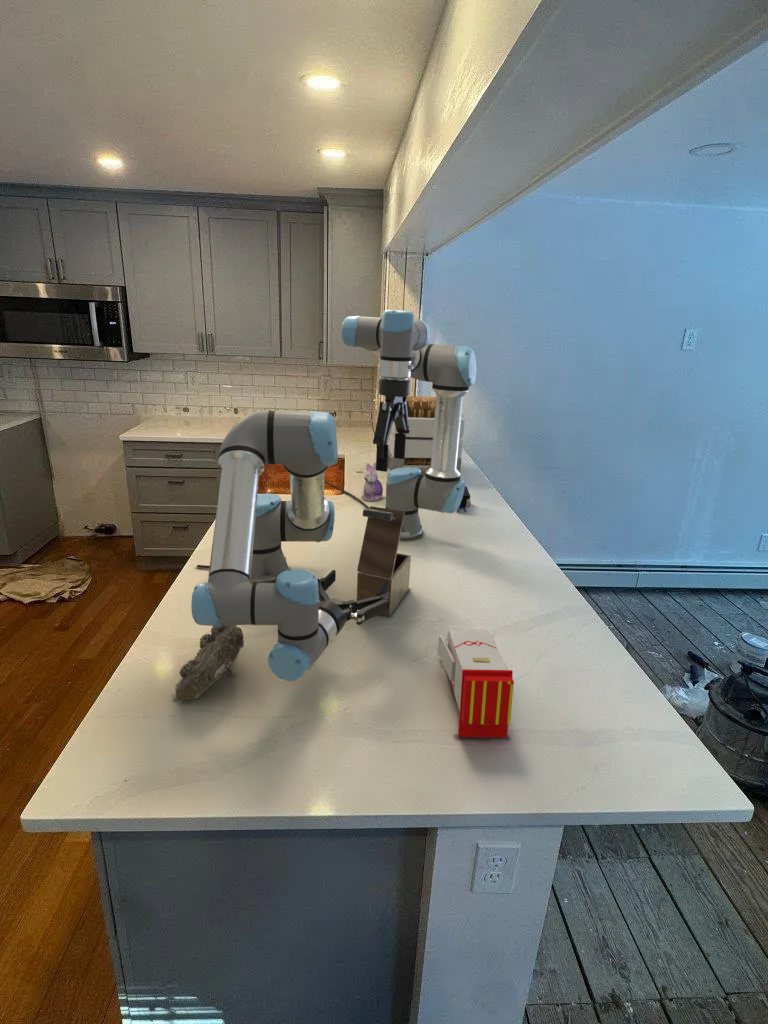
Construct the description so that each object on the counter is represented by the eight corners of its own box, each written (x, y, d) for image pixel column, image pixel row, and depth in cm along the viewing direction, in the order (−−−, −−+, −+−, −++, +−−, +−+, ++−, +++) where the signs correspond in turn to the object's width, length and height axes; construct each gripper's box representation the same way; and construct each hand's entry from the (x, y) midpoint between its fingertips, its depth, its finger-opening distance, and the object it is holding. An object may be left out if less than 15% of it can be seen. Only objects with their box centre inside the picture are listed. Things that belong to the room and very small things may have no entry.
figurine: (367, 502, 230) (368, 467, 225) (357, 495, 238) (358, 460, 233) (388, 500, 234) (389, 465, 229) (377, 492, 242) (378, 458, 237)
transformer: (382, 463, 289) (386, 382, 275) (445, 464, 293) (451, 384, 279) (390, 482, 257) (394, 392, 243) (460, 483, 261) (468, 394, 247)
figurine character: (470, 516, 223) (465, 500, 237) (473, 499, 220) (467, 484, 233) (453, 516, 223) (449, 500, 236) (455, 498, 220) (451, 483, 233)
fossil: (197, 625, 130) (244, 594, 125) (226, 653, 133) (272, 624, 128) (153, 694, 111) (206, 661, 106) (188, 725, 114) (241, 695, 109)
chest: (378, 582, 164) (379, 549, 160) (408, 589, 161) (411, 555, 157) (356, 609, 149) (357, 573, 145) (389, 616, 146) (391, 579, 143)
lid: (371, 506, 148) (361, 500, 140) (405, 512, 145) (396, 506, 137) (358, 571, 146) (347, 569, 138) (392, 578, 143) (382, 576, 135)
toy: (488, 613, 130) (523, 677, 101) (484, 667, 133) (517, 744, 104) (435, 612, 130) (455, 676, 101) (432, 666, 133) (451, 743, 103)
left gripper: (267, 627, 120) (312, 584, 139) (377, 654, 113) (409, 605, 131) (266, 596, 118) (312, 556, 136) (379, 622, 110) (411, 576, 129)
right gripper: (392, 385, 123) (388, 478, 131) (424, 374, 146) (419, 455, 153) (360, 382, 126) (358, 474, 133) (396, 372, 148) (392, 451, 155)
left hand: (360, 580), depth 134 cm, fingers open, 13 cm apart
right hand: (390, 464), depth 143 cm, fingers open, 13 cm apart
